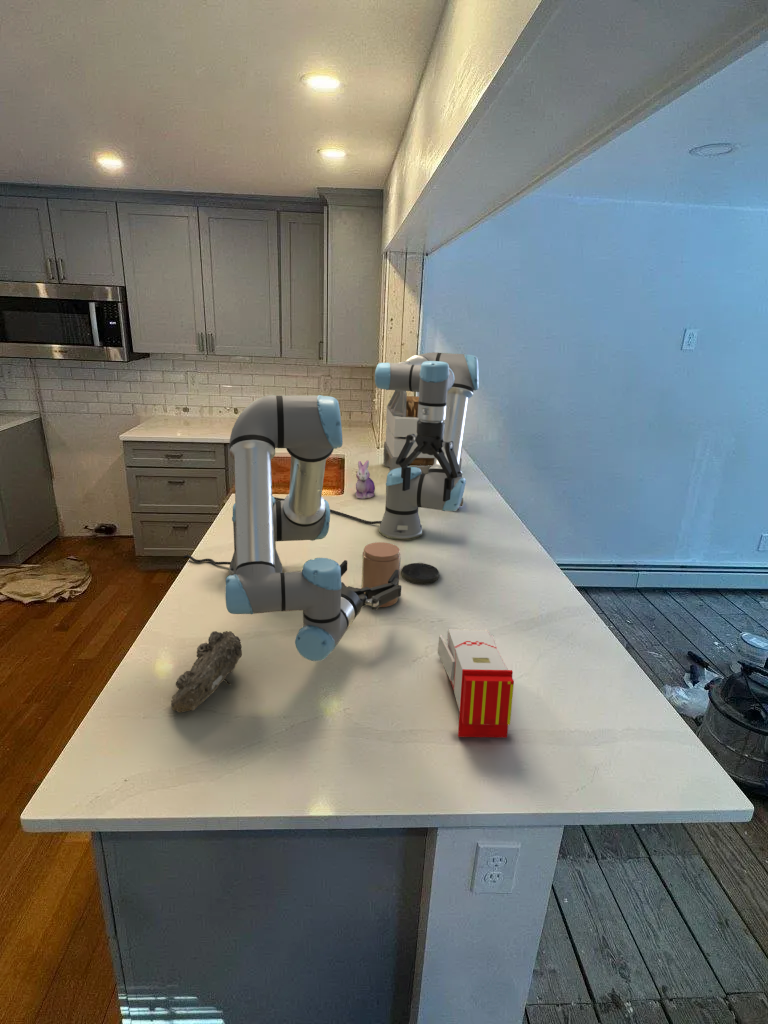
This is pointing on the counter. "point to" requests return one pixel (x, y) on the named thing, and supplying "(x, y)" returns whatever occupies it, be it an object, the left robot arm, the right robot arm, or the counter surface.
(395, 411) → the white crate
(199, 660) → the fossil
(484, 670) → the toy
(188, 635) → the counter surface
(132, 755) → the counter surface
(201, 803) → the counter surface
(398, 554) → the jar
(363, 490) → the figurine
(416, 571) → the lid
